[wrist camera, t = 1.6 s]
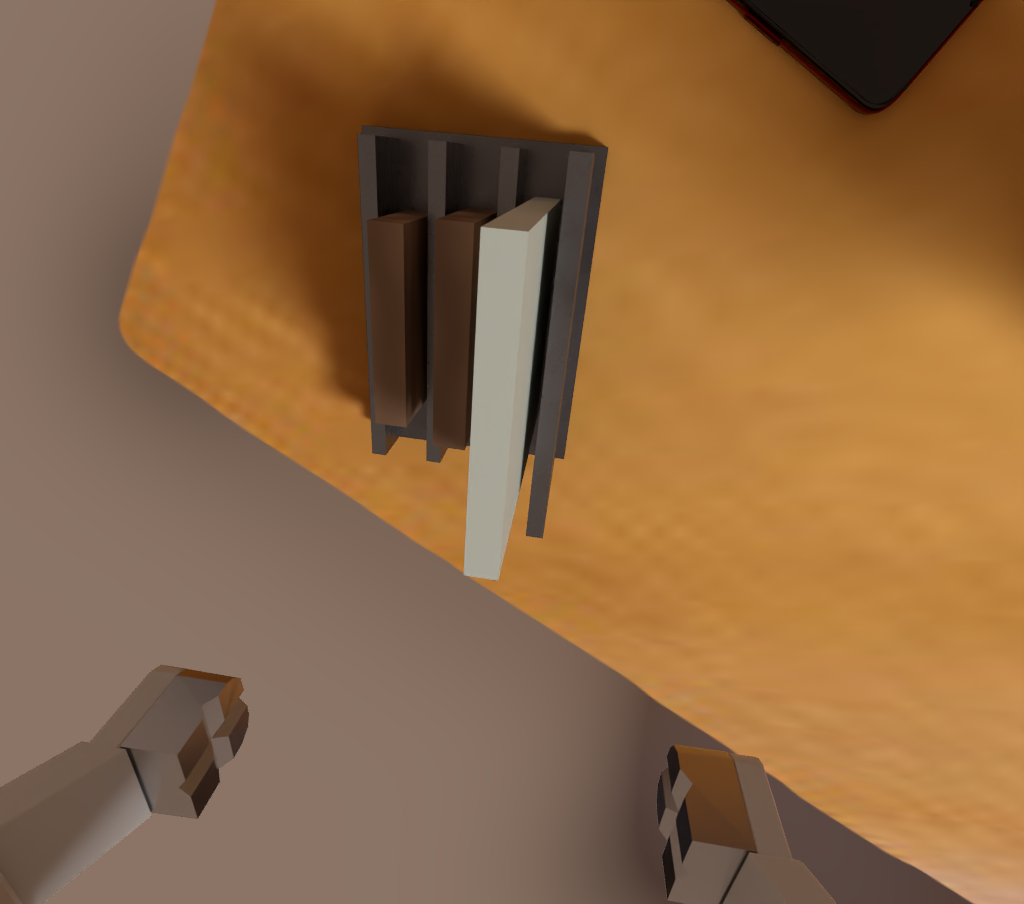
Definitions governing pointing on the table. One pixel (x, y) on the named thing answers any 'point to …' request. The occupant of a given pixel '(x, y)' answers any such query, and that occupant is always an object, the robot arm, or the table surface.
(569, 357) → the rack
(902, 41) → the smartphone
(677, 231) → the table surface
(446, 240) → the block
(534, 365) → the white thin panel
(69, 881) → the robot arm
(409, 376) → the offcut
